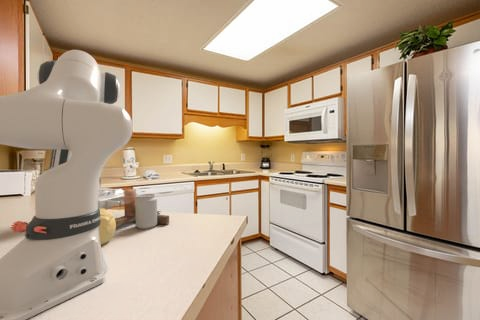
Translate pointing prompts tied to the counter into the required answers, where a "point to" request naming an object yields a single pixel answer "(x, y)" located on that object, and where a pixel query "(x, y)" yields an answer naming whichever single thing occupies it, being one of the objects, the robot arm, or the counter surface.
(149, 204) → the can
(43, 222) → the robot arm
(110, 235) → the pale yellow rounded lump
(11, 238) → the counter surface
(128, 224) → the rail
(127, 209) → the brown wooden stand
